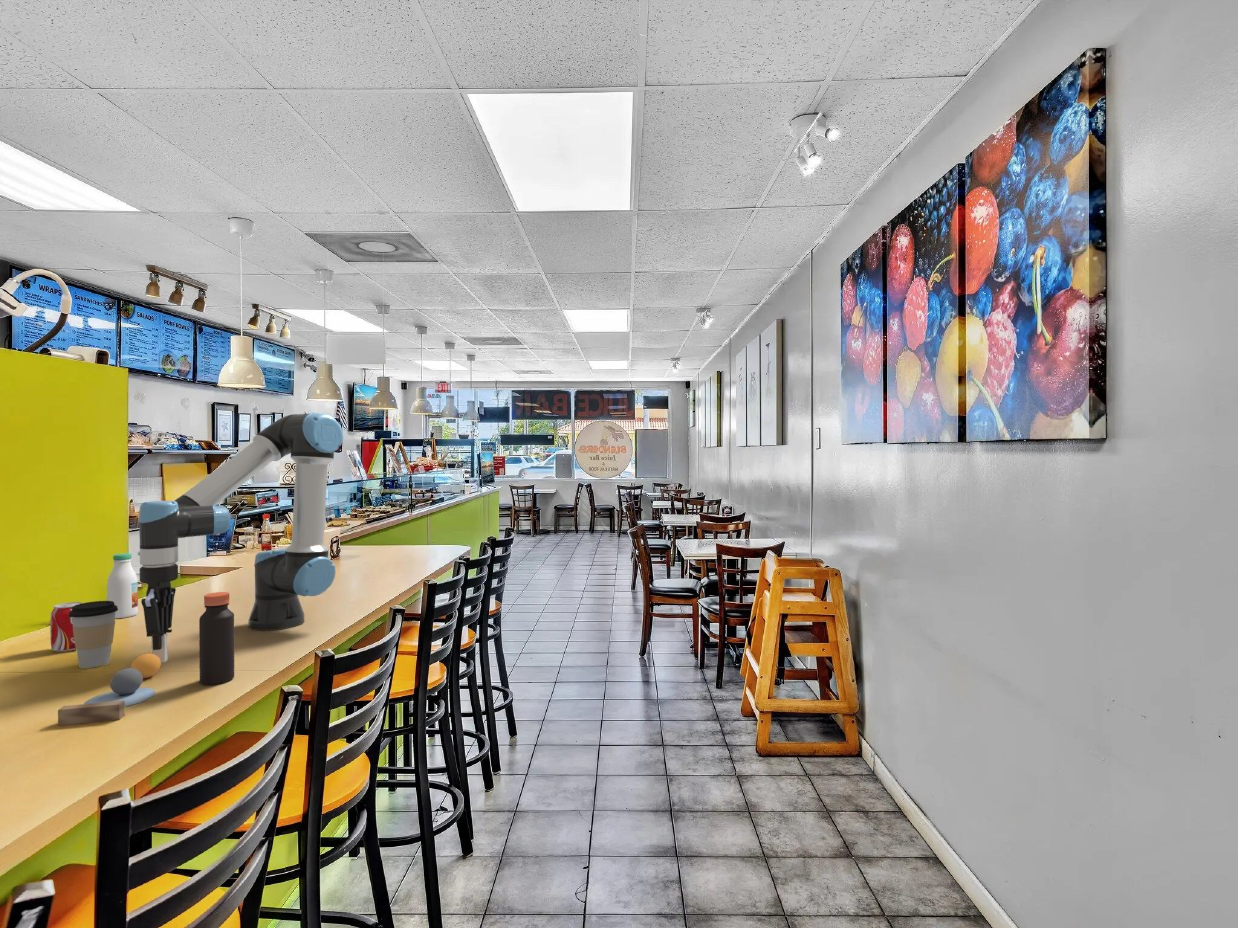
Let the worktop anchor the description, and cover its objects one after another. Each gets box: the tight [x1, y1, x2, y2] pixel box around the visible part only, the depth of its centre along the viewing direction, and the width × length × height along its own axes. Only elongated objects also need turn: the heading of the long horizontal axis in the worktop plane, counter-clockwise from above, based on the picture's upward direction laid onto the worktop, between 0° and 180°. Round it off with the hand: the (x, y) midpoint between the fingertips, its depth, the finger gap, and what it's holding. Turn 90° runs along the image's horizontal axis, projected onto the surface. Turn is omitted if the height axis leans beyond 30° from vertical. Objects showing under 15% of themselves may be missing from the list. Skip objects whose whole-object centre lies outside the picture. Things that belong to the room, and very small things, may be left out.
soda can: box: [49, 601, 83, 653], centre depth 165 cm, size 7×7×12 cm
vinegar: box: [198, 591, 235, 686], centre depth 142 cm, size 7×7×20 cm
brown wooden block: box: [57, 701, 126, 726], centre depth 121 cm, size 10×2×3 cm, turn 106°
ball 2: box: [130, 653, 162, 679], centre depth 144 cm, size 6×6×6 cm
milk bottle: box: [106, 552, 139, 620], centre depth 198 cm, size 8×8×20 cm
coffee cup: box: [68, 600, 118, 669], centre depth 153 cm, size 9×9×15 cm
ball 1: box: [110, 667, 144, 695], centre depth 134 cm, size 6×6×6 cm
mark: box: [83, 686, 156, 708], centre depth 132 cm, size 12×12×1 cm
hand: (159, 661), depth 150 cm, fingers closed
